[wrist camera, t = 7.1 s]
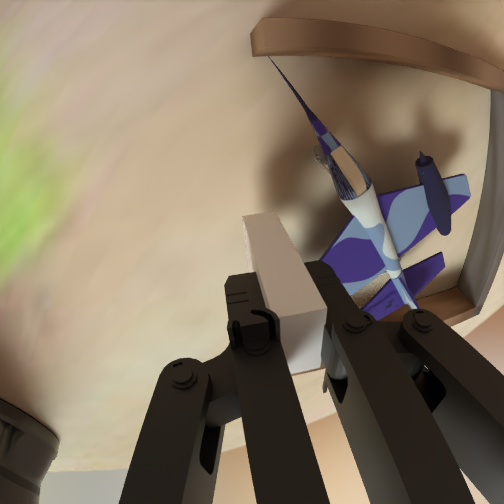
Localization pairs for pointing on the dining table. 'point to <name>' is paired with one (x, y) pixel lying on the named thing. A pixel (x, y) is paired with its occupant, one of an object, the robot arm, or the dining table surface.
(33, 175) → the dining table surface
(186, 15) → the dining table surface
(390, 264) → the toy airplane
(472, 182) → the dining table surface
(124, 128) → the dining table surface
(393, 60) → the frame
